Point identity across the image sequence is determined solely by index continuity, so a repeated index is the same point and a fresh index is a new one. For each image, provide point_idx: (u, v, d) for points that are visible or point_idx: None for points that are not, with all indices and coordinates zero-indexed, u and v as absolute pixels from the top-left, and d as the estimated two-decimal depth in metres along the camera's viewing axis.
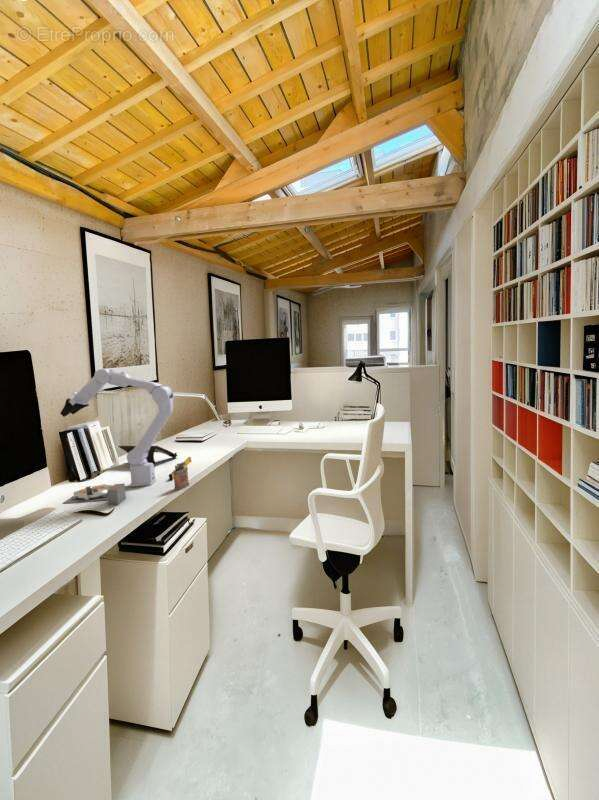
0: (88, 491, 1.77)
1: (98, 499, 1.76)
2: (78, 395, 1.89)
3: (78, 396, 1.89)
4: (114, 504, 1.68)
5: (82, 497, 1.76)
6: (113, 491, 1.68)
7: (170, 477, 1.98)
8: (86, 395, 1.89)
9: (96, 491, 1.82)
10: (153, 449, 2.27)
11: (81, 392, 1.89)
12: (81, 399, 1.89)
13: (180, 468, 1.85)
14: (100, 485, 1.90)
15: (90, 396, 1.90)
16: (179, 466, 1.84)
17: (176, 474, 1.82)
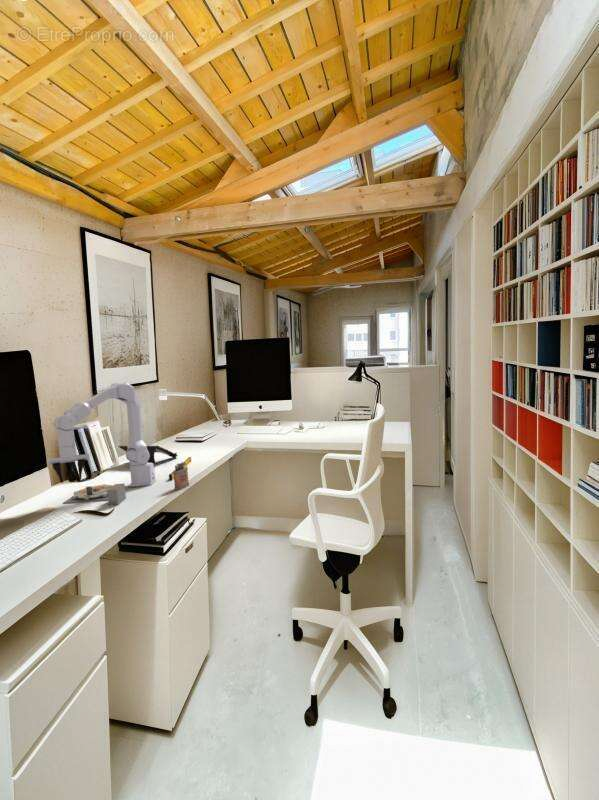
0: (88, 491, 1.77)
1: (98, 499, 1.76)
2: (75, 454, 1.74)
3: (75, 454, 1.74)
4: (114, 504, 1.68)
5: (82, 497, 1.76)
6: (113, 491, 1.68)
7: (170, 477, 1.98)
8: None
9: (96, 491, 1.82)
10: (154, 449, 2.27)
11: (74, 449, 1.74)
12: None
13: (180, 468, 1.85)
14: (100, 485, 1.90)
15: None
16: (179, 466, 1.84)
17: (176, 474, 1.82)
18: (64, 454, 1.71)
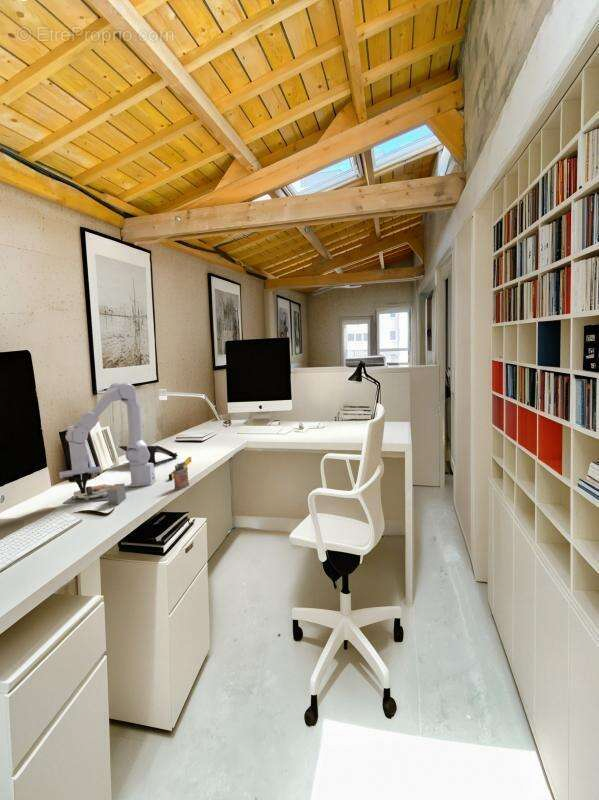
0: (88, 491, 1.77)
1: (98, 499, 1.76)
2: (87, 466, 1.76)
3: (87, 467, 1.76)
4: (114, 504, 1.68)
5: (82, 497, 1.76)
6: (113, 491, 1.68)
7: (170, 477, 1.98)
8: None
9: (96, 491, 1.82)
10: (154, 449, 2.26)
11: (86, 462, 1.76)
12: None
13: (180, 468, 1.85)
14: (100, 485, 1.90)
15: None
16: (179, 466, 1.84)
17: (176, 474, 1.82)
18: (77, 467, 1.73)
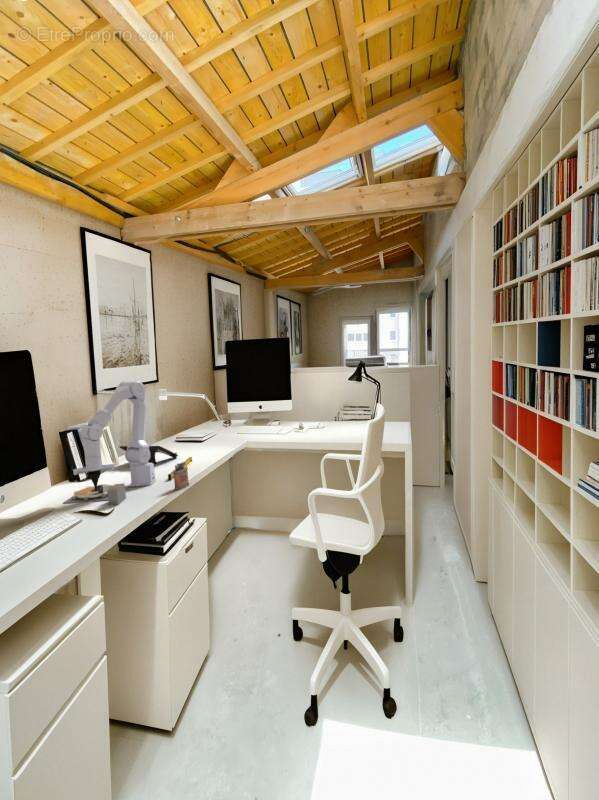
0: (101, 489, 1.79)
1: (98, 499, 1.76)
2: (101, 464, 1.78)
3: (101, 464, 1.78)
4: (114, 504, 1.68)
5: (97, 496, 1.77)
6: (113, 491, 1.68)
7: (169, 477, 1.98)
8: None
9: None
10: (155, 449, 2.26)
11: (100, 459, 1.78)
12: None
13: (180, 468, 1.85)
14: (88, 487, 1.88)
15: None
16: (179, 466, 1.84)
17: (176, 474, 1.82)
18: (91, 464, 1.75)
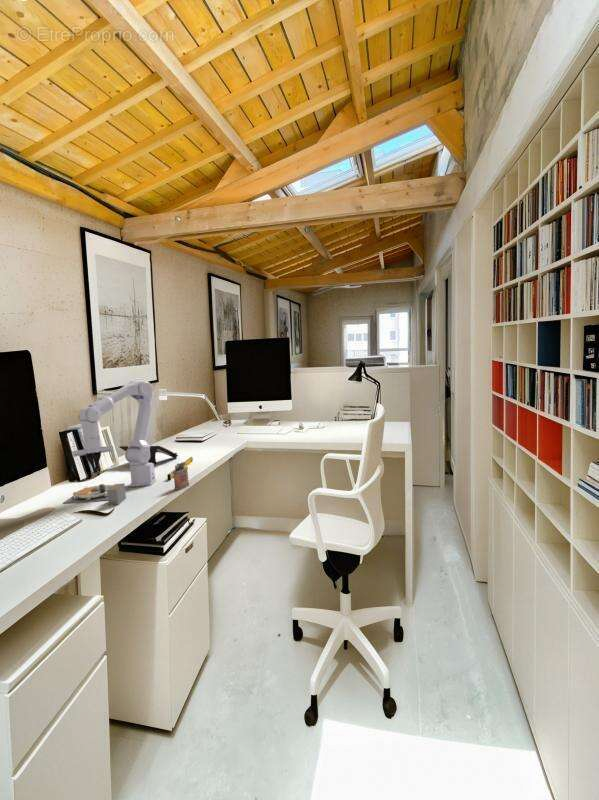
0: (103, 488, 1.79)
1: (98, 499, 1.76)
2: (99, 445, 1.77)
3: (100, 446, 1.78)
4: (114, 504, 1.68)
5: (99, 495, 1.77)
6: (113, 491, 1.68)
7: (168, 477, 1.98)
8: None
9: (100, 490, 1.83)
10: (155, 449, 2.26)
11: (99, 441, 1.77)
12: None
13: (180, 468, 1.85)
14: (86, 488, 1.87)
15: None
16: (179, 466, 1.84)
17: (176, 474, 1.82)
18: (89, 446, 1.75)
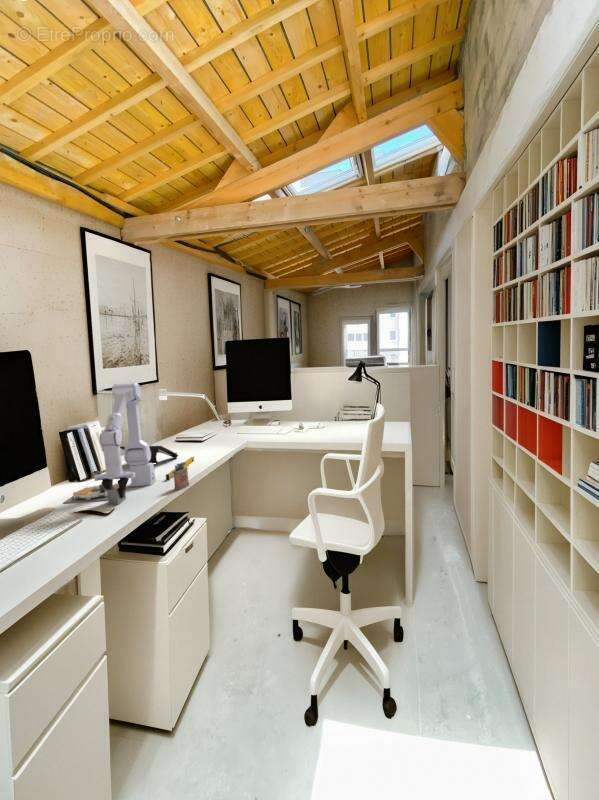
0: (103, 488, 1.79)
1: (98, 499, 1.76)
2: (120, 471, 1.70)
3: (120, 472, 1.70)
4: (114, 504, 1.68)
5: (99, 495, 1.77)
6: (113, 491, 1.68)
7: (167, 477, 1.98)
8: (121, 464, 1.72)
9: (100, 490, 1.83)
10: (156, 449, 2.26)
11: (119, 467, 1.70)
12: (122, 471, 1.72)
13: (180, 468, 1.85)
14: (86, 488, 1.87)
15: None
16: (179, 466, 1.84)
17: (176, 474, 1.82)
18: (108, 471, 1.68)
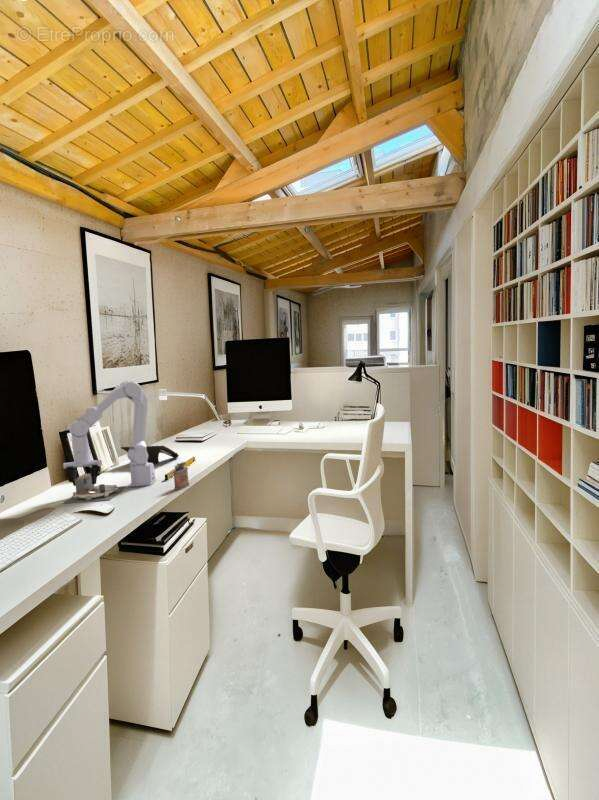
0: (103, 488, 1.79)
1: (98, 499, 1.76)
2: (87, 459, 1.81)
3: (88, 460, 1.81)
4: (81, 492, 1.79)
5: (99, 495, 1.77)
6: (80, 480, 1.79)
7: (166, 477, 1.99)
8: None
9: (100, 490, 1.83)
10: (159, 449, 2.25)
11: (86, 455, 1.81)
12: None
13: (180, 468, 1.85)
14: None
15: None
16: (179, 466, 1.84)
17: (176, 474, 1.82)
18: (76, 459, 1.79)
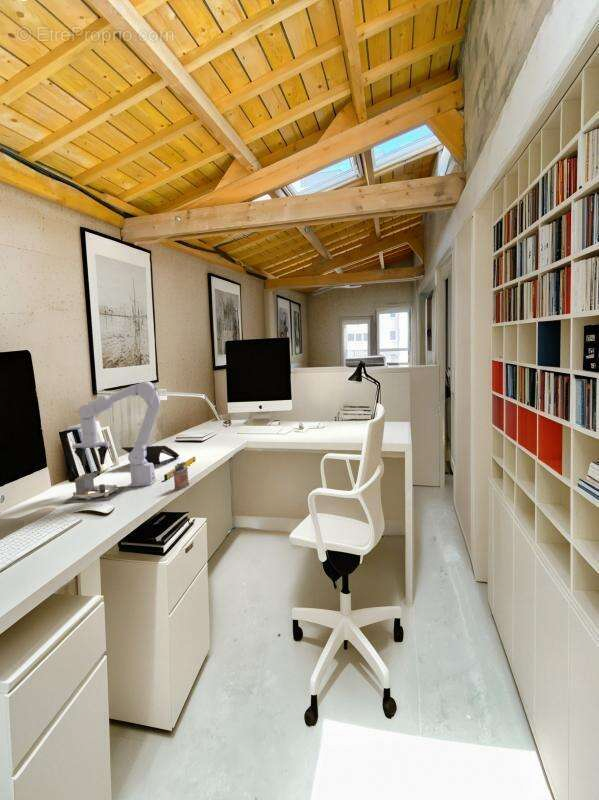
0: (103, 488, 1.79)
1: (98, 499, 1.76)
2: (95, 440, 1.89)
3: (96, 441, 1.90)
4: (81, 492, 1.79)
5: (99, 495, 1.77)
6: (80, 480, 1.79)
7: (165, 477, 1.99)
8: None
9: (100, 490, 1.83)
10: (160, 449, 2.25)
11: (95, 436, 1.89)
12: None
13: (180, 468, 1.85)
14: None
15: None
16: (179, 466, 1.84)
17: (176, 474, 1.82)
18: (85, 440, 1.88)
